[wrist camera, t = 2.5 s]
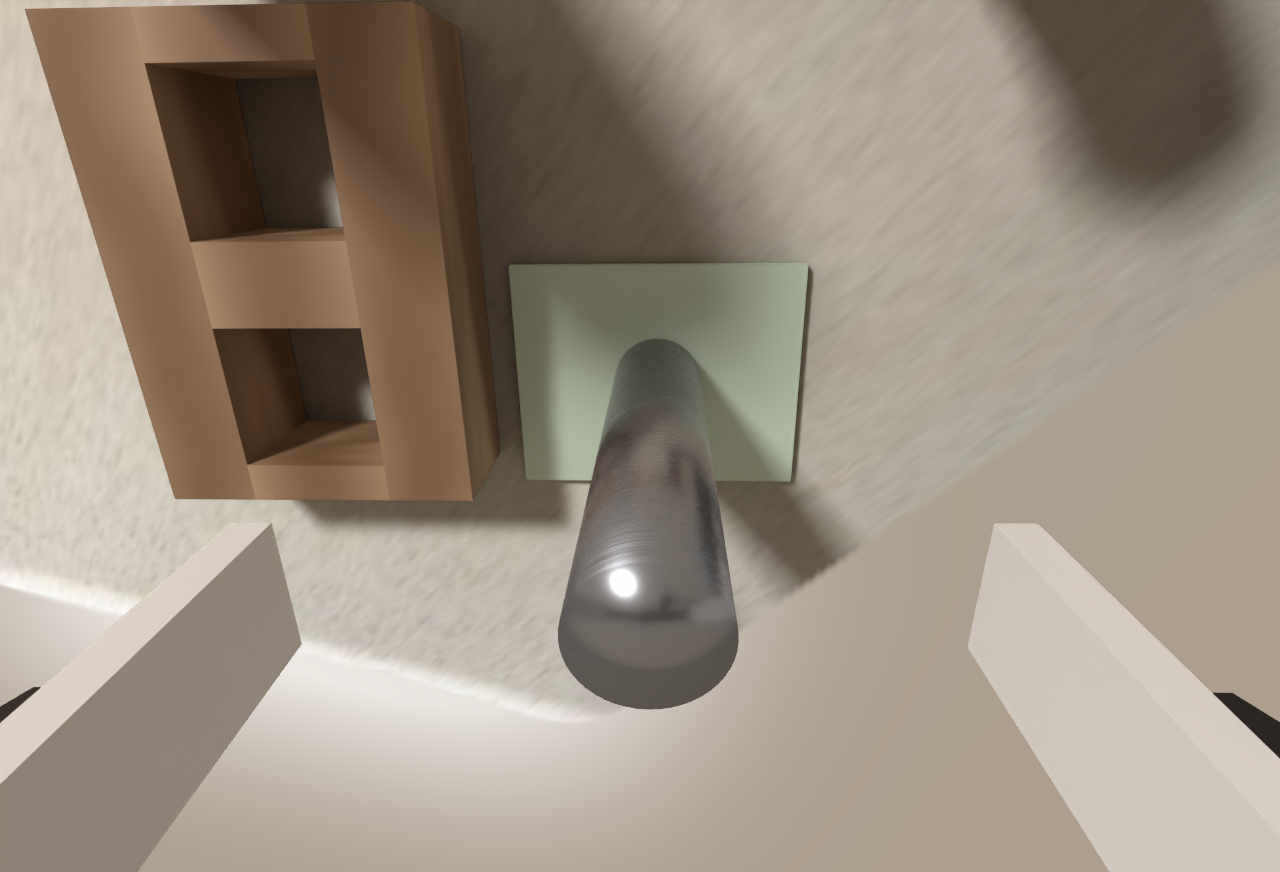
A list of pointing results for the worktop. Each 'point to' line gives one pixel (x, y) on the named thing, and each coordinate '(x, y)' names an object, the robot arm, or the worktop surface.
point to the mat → (659, 309)
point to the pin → (651, 545)
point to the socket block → (285, 241)
